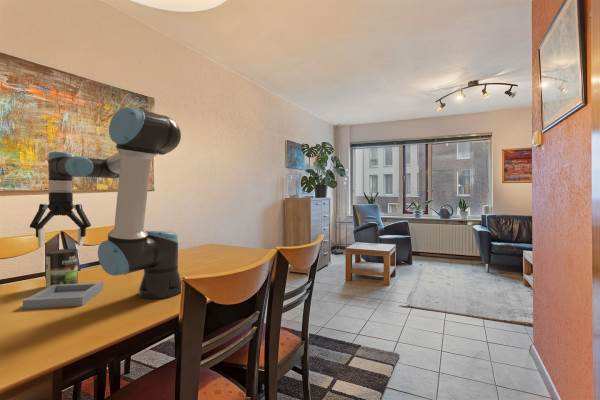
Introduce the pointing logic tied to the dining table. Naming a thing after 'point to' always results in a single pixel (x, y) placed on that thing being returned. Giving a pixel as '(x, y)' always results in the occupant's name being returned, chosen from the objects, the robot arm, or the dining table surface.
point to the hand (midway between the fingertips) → (61, 245)
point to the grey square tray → (63, 295)
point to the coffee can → (61, 267)
